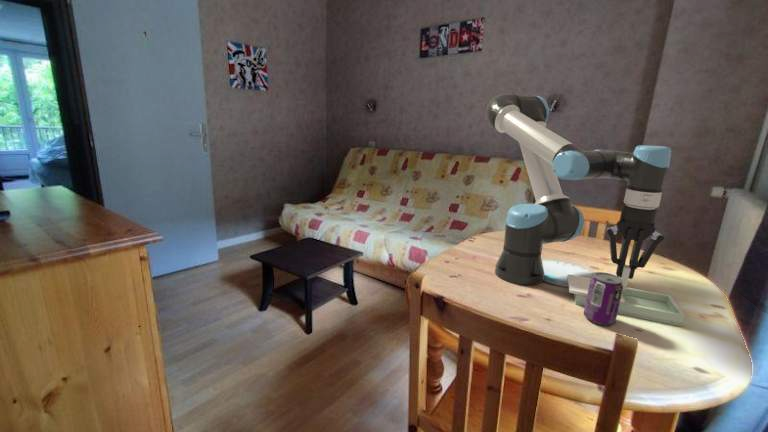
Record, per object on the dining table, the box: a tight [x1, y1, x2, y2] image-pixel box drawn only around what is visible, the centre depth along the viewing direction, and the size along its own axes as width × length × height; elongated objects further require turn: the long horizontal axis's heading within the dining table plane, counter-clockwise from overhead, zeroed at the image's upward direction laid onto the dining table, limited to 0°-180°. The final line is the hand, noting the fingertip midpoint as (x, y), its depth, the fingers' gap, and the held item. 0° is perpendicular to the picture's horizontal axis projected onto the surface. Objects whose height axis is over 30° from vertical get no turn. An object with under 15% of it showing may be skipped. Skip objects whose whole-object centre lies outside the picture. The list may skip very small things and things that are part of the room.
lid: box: [567, 274, 625, 303], centre depth 98 cm, size 13×12×3 cm
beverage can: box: [583, 271, 623, 326], centre depth 87 cm, size 7×7×12 cm
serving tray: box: [573, 287, 686, 328], centre depth 96 cm, size 24×12×3 cm, turn 65°
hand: (621, 287), depth 96 cm, fingers closed
